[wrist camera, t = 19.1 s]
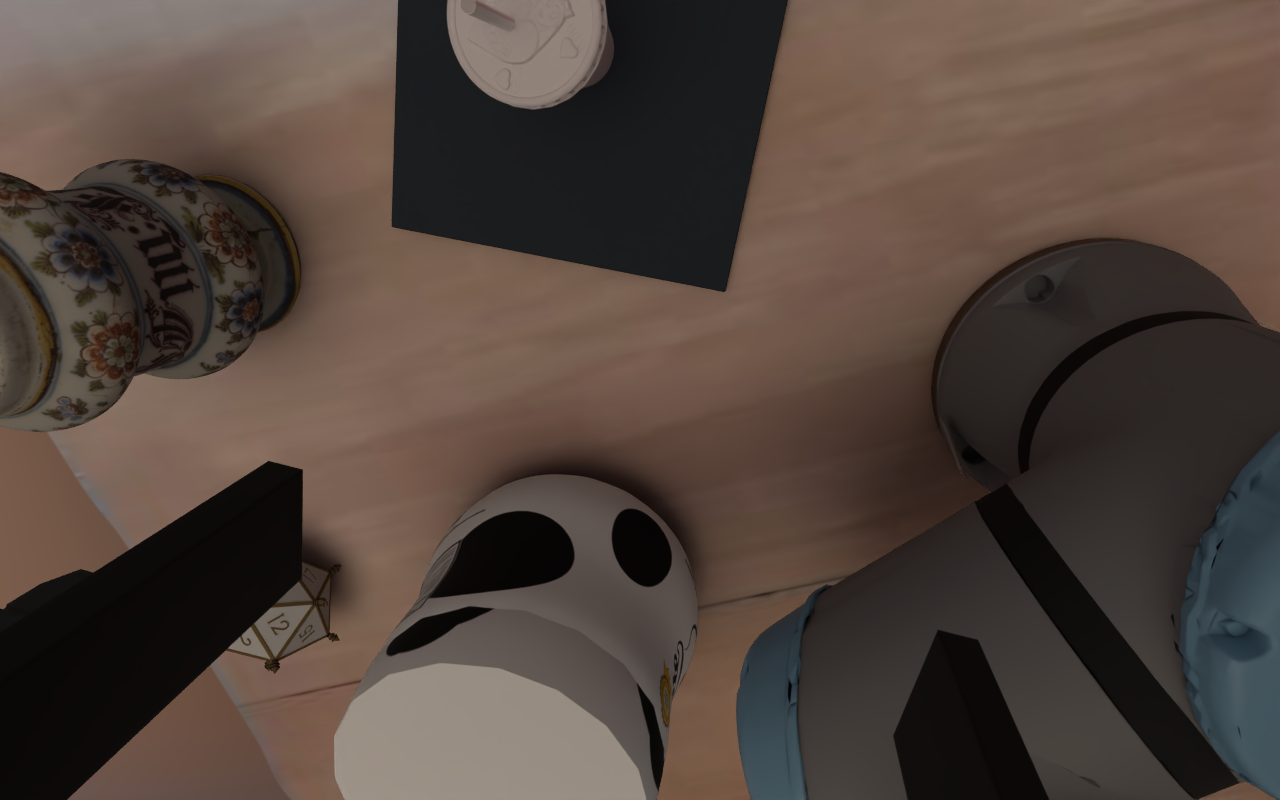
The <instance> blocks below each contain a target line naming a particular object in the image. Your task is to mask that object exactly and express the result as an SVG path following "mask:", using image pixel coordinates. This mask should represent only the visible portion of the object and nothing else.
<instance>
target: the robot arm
mask: <svg viewBox="0 0 1280 800" xmlns="http://www.w3.org/2000/svg"><path fill="white" fill-rule="evenodd" d="M931 390H932V403H933V410H934V414H935V418H936V422H937V424H938V427H939V429H940V432H941V434H942V436H943V438H944V440H945V442H946V443H947V445H948V447H949V448H950V450H951V451H952V453H953V455H954V458H955V461H956V463H957V466H958V469H959V472H960V473H961V475H962V476H963V478H964V480H965V477H964V474H963V471H962V469H961V466H960V464H961V465H962V466H963V467H964V468H965V470H966V471H967V472H968V473H969V474H970V475H972V476H973V477H974V478H975V479H976V480H977V481H978V482H980V483H981V484H982V485H983V486H985V487H986V488H987V489H988V490H990V491H991V493H990V494H988V495H986V496H985V497H983V498H981V499H980V500H978V501H975V502H973V503H972V504H970V505H968V506H967V507H965V508H963V509H962V510H960V511H959V512H957V513H955V514H954V515H952V516H951V517H949V518H947V519H946V520H944V521H942V522H940V523H939V524H937V525H935V526H934V527H932V528H930V529H929V530H927V531H925V532H923V533H922V534H920V535H918V536H917V537H915V538H913V539H912V540H910V541H908V542H906V543H905V544H903V545H901V546H900V547H898V548H896V549H895V550H893V551H891V552H889V553H888V554H886V555H884V556H883V557H881V558H879V559H878V560H876V561H874V562H873V563H871V564H869V565H867V566H866V567H864V568H862V569H861V570H859V571H857V572H856V573H854V574H852V575H850V576H849V577H847V578H845V579H844V580H842V581H840V582H839V583H837V584H835V585H833V586H830V585H825V586H823V587H821V588H818V589H817V590H815V591H814V592H813V593H812V594H811V595H810V596H809V597H808V599H807V601H806V602H805V604H803V605H802V606H800V607H799V608H797V609H796V610H794V611H793V612H791V613H790V614H788V615H787V616H785V617H784V618H782V619H781V620H779V621H778V622H776V623H775V624H773V625H772V626H770V627H769V628H767V629H766V630H765V631H763V632H762V633H761V634H760V635H759V637H758V638H757V639H756V640H755V641H754V643H753V644H752V646H751V647H750V649H749V651H748V653H747V655H746V657H745V660H744V663H743V667H742V671H741V674H740V687H739V689H738V693H737V704H736V718H737V733H738V742H739V749H740V756H741V761H742V766H743V771H744V775H745V779H746V783H747V787H748V791H749V795H750V798H751V800H1196V799H1197V800H1198V799H1200V798H1202V797H1204V796H1207V795H1210V794H1212V793H1215V792H1217V791H1220V790H1222V789H1225V788H1228V787H1230V786H1233V785H1235V784H1238V783H1242V782H1245V781H1246V782H1247V783H1249V784H1251V785H1253V786H1256V787H1257V788H1259V789H1261V790H1262V791H1264V792H1265V793H1267V794H1268V795H1270V796H1272V797H1273V798H1275V799H1277V800H1280V333H1279V332H1276V331H1273V330H1271V329H1268V328H1265V327H1262V326H1260V325H1259V324H1258V323H1257V321H1256V320H1255V319H1254V318H1253V316H1252V315H1251V314H1250V313H1249V311H1248V310H1247V309H1246V308H1245V307H1244V305H1243V304H1242V303H1241V301H1240V300H1239V299H1238V297H1237V296H1236V295H1235V293H1234V292H1233V291H1232V290H1231V289H1230V288H1229V287H1228V286H1227V284H1225V283H1224V282H1223V281H1222V280H1221V279H1220V278H1219V277H1217V276H1216V275H1215V274H1213V273H1212V272H1211V271H1209V270H1208V269H1206V268H1204V267H1203V266H1201V265H1200V264H1198V263H1197V262H1195V261H1193V260H1192V259H1190V258H1188V257H1185V256H1183V255H1181V254H1179V253H1177V252H1174V251H1171V250H1168V249H1165V248H1162V247H1158V246H1155V245H1151V244H1147V243H1142V242H1138V241H1133V240H1125V239H1112V238H1099V239H1086V240H1079V241H1072V242H1068V243H1064V244H1060V245H1056V246H1053V247H1050V248H1047V249H1044V250H1041V251H1038V252H1036V253H1034V254H1031V255H1029V256H1027V257H1025V258H1023V259H1021V260H1019V261H1017V262H1015V263H1013V264H1012V265H1010V266H1009V267H1007V268H1005V269H1004V270H1002V271H1001V272H999V273H998V274H997V275H995V276H994V277H993V278H991V279H990V280H989V281H987V282H986V283H985V284H984V285H983V286H982V287H981V288H980V289H978V290H977V291H976V292H975V293H974V294H973V295H972V297H971V298H970V299H969V300H968V301H967V302H966V303H965V304H964V306H963V307H962V308H961V309H960V311H959V312H958V313H957V315H956V316H955V318H954V319H953V321H952V322H951V324H950V326H949V327H948V329H947V331H946V333H945V335H944V337H943V339H942V342H941V344H940V347H939V349H938V352H937V356H936V359H935V363H934V368H933V374H932V387H931ZM965 481H966V480H965ZM966 483H967V482H966ZM302 506H303V470H302V469H298V468H294V467H290V466H286V465H282V464H278V463H274V462H270V461H268V462H266V463H265V464H263V465H262V466H260V467H259V468H257V469H255V470H254V471H252V472H251V473H249V474H248V475H246V476H244V477H243V478H241V479H240V480H238V481H237V482H235V483H233V484H232V485H230V486H229V487H227V488H226V489H224V490H222V491H221V492H219V493H218V494H216V495H215V496H213V497H211V498H210V499H208V500H207V501H205V502H204V503H202V504H200V505H199V506H197V507H196V508H194V509H193V510H191V511H189V512H188V513H186V514H185V515H183V516H182V517H180V518H179V519H177V520H175V521H174V522H172V523H171V524H169V525H168V526H166V527H164V528H163V529H161V530H160V531H158V532H157V533H155V534H153V535H152V536H150V537H149V538H147V539H146V540H144V541H142V542H141V543H139V544H138V545H136V546H135V547H133V548H131V549H130V550H128V551H127V552H125V553H124V554H122V555H120V556H119V557H117V558H116V559H114V560H113V561H111V562H109V563H108V564H106V565H105V566H103V567H102V568H100V569H99V570H97V571H95V572H94V573H92V572H89V571H85V570H82V569H80V570H77V571H75V572H72V573H69V574H66V575H64V576H61V577H58V578H55V579H53V580H50V581H47V582H44V583H42V584H40V585H38V586H36V587H35V588H33V589H31V590H30V591H28V592H26V593H25V594H23V595H21V596H20V597H18V598H17V599H15V600H13V601H12V602H10V603H8V604H7V606H6V608H5V609H0V800H67V799H68V798H69V797H70V796H71V795H72V794H73V793H75V792H76V791H77V790H78V789H79V788H80V787H81V786H82V785H83V784H84V783H85V782H86V781H87V780H88V779H89V778H90V777H92V776H93V775H94V774H95V773H96V772H97V771H98V770H99V769H100V768H101V767H102V766H103V765H104V764H105V763H106V762H107V761H108V760H110V758H112V757H113V756H114V755H115V754H116V753H117V752H118V751H119V750H120V749H121V748H122V747H123V746H124V745H126V744H127V743H128V742H129V741H130V740H131V739H132V738H133V737H134V736H135V735H136V734H137V733H138V732H139V731H140V730H141V729H143V728H144V727H145V726H146V725H147V724H148V723H149V722H150V721H151V720H152V719H153V718H154V717H155V716H156V715H157V714H159V713H160V712H161V711H162V710H163V709H164V708H165V707H166V706H167V705H168V704H169V703H170V702H171V701H172V700H173V699H174V698H175V697H177V696H178V694H180V693H181V692H182V691H183V690H184V689H185V688H186V687H187V686H188V685H189V684H190V683H191V682H193V680H195V679H196V678H197V677H198V676H199V675H200V674H201V673H202V672H203V671H204V670H205V669H206V668H207V667H208V666H210V665H211V664H212V663H213V662H214V661H215V660H216V659H217V658H218V657H219V656H220V655H221V654H222V653H223V652H224V651H225V650H227V649H228V648H229V647H230V646H231V645H232V644H233V643H234V642H235V641H236V640H237V639H238V638H239V637H240V636H241V635H243V634H244V633H245V632H246V631H247V630H248V629H249V628H250V627H251V626H252V625H253V624H254V623H255V622H256V621H257V620H258V619H260V618H261V617H262V616H263V615H264V614H265V613H266V612H267V611H268V610H269V609H270V608H271V607H272V606H273V605H274V604H275V603H277V602H278V601H279V600H280V599H281V598H282V597H283V596H284V595H285V594H286V593H287V592H288V591H289V590H290V589H291V588H292V587H294V586H295V585H296V584H297V583H298V582H299V581H300V580H301V579H302Z"/></svg>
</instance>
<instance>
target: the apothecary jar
mask: <svg viewBox="0 0 1280 800" xmlns="http://www.w3.org/2000/svg"><path fill="white" fill-rule="evenodd" d="M299 284H300V264H299V258H298V254H297V250H296V246H295V243H294V241H293V238H292V236H291V234H290V232H289V230H288V228H287V226H286V224H285V222H284V221H283V219H282V218H281V217H280V215H279V214H278V212H277V211H276V210H275V209H274V208H273V206H272V205H271V204H270V203H269V202H268V201H267V200H266V199H264V198H263V197H262V196H261V195H260V194H258V193H257V192H256V191H254V190H253V189H251V188H250V187H248V186H246V185H244V184H243V183H240V182H238V181H236V180H233V179H230V178H227V177H223V176H217V175H200V176H196V177H192V176H191V175H189V174H187V173H185V172H183V171H181V170H178V169H176V168H173V167H171V166H168V165H165V164H161V163H157V162H153V161H147V160H136V159H124V160H115V161H110V162H106V163H102V164H99V165H96V166H94V167H91V168H89V169H87V170H85V171H84V172H82V173H80V174H79V175H78V176H76V177H75V178H74V179H73V180H72V181H71V182H69V183H68V185H67V186H66V187H65V188H64V189H63V190H55V191H45V190H43V189H41V188H39V187H37V186H35V185H33V184H31V183H29V182H27V181H25V180H23V179H20V178H17V177H15V176H12V175H9V174H6V173H2V172H0V426H1V427H5V428H9V429H15V430H22V431H33V432H47V431H57V430H63V429H68V428H72V427H76V426H79V425H81V424H84V423H86V422H89V421H91V420H93V419H94V418H96V417H98V416H100V415H101V414H103V413H104V412H106V411H107V410H108V409H109V408H111V407H112V406H113V405H114V404H115V403H116V402H117V401H118V400H119V399H120V398H121V396H122V395H123V394H124V392H125V391H126V389H127V388H128V386H129V384H130V382H131V380H132V378H133V377H134V376H137V375H140V374H143V373H145V374H148V375H152V376H157V377H162V378H170V379H189V378H197V377H201V376H205V375H209V374H212V373H215V372H217V371H219V370H221V369H223V368H225V367H227V366H228V365H230V364H231V363H233V362H234V361H235V360H236V359H238V358H239V357H240V356H241V355H242V354H243V353H244V352H245V351H246V350H247V348H248V347H249V346H250V344H251V343H252V341H253V340H254V338H255V336H256V334H257V332H260V331H264V330H268V329H270V328H271V327H273V326H275V325H276V324H278V323H279V322H280V321H281V320H283V319H284V318H285V317H286V315H287V314H288V313H289V311H290V309H291V308H292V306H293V304H294V302H295V300H296V297H297V294H298V290H299Z"/></svg>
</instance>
